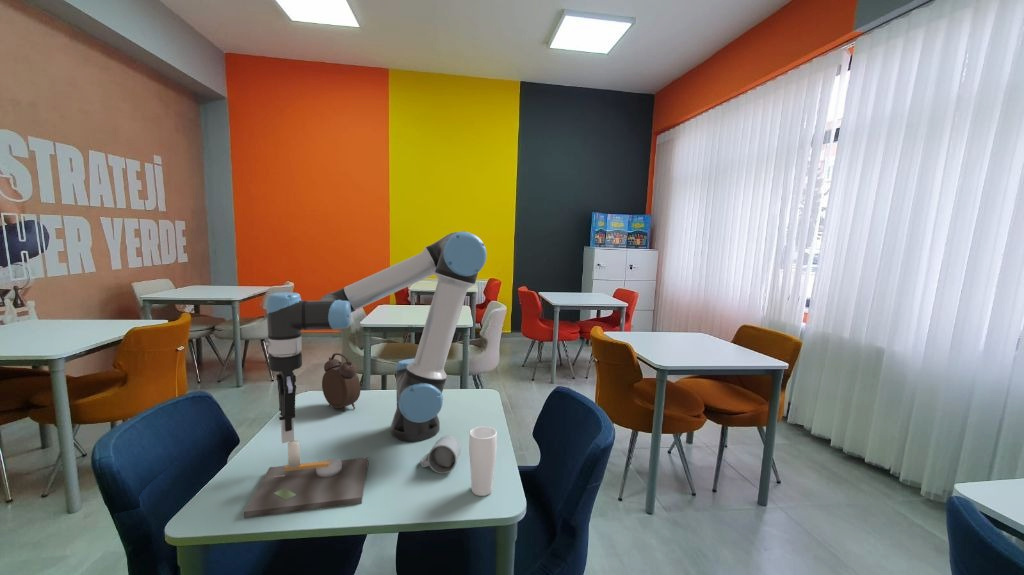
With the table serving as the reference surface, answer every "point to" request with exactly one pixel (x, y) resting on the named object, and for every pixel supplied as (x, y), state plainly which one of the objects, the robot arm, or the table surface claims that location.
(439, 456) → the ceramic mug
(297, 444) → the dial
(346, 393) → the alarm clock
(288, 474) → the dial plate
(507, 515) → the table surface
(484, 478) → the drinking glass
